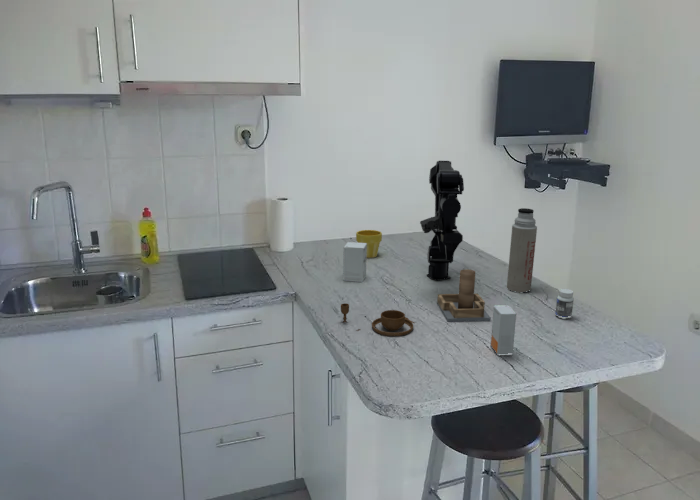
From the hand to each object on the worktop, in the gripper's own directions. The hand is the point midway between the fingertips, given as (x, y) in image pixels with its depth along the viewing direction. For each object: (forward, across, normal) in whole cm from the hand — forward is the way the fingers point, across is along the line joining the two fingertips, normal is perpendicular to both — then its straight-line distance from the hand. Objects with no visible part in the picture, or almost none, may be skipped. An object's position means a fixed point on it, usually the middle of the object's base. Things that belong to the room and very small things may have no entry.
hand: (444, 255), depth 193 cm
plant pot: (+13, -45, -20) cm, 51 cm away
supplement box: (+13, -17, -28) cm, 35 cm away
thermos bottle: (+13, -2, +27) cm, 30 cm away
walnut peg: (+12, +20, +2) cm, 23 cm away
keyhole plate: (+13, +17, +2) cm, 22 cm away
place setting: (+14, +25, -24) cm, 37 cm away
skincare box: (+13, +45, +5) cm, 47 cm away
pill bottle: (+13, +23, +32) cm, 41 cm away
